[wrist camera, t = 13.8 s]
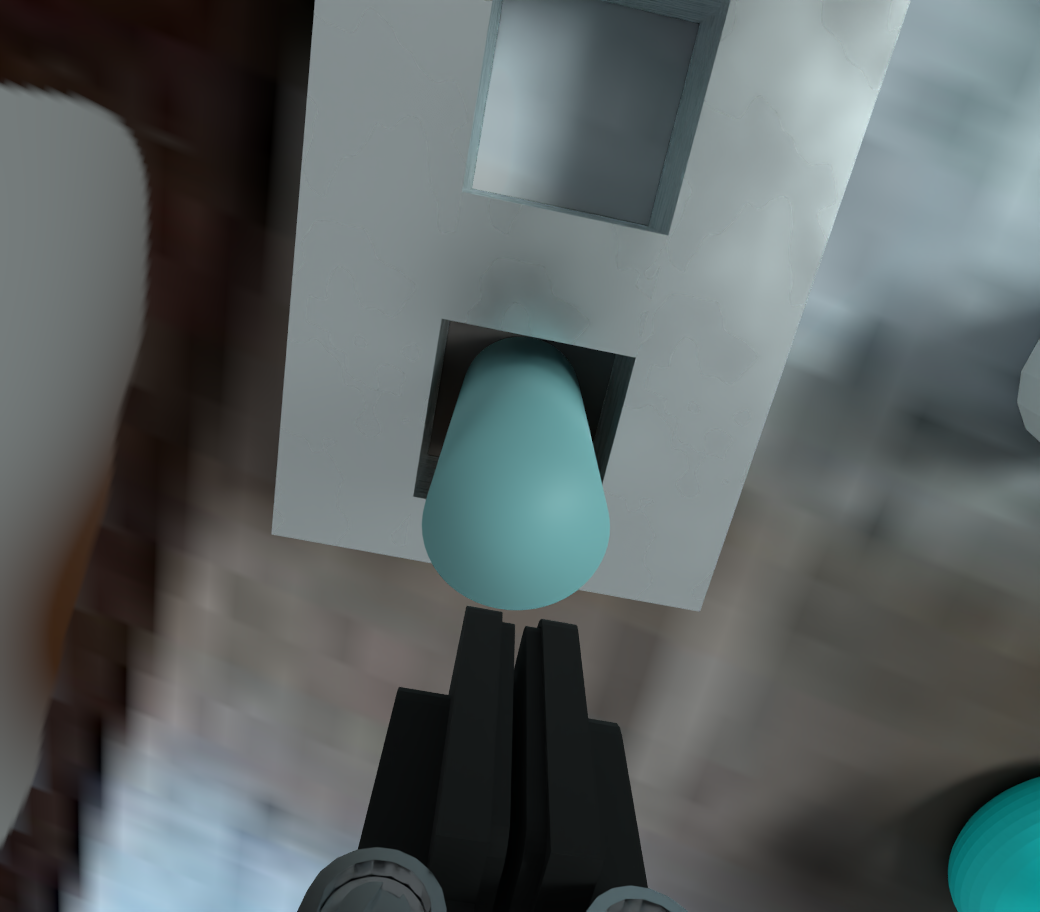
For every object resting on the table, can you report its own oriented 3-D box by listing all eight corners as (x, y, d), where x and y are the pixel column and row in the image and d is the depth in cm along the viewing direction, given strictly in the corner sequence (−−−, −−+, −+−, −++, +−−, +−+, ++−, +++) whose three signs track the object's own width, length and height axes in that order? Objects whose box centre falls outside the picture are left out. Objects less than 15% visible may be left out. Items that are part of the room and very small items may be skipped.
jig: (366, -154, 19) (333, -219, 16) (869, -33, 20) (935, -72, 17) (303, 488, 26) (271, 534, 23) (679, 558, 27) (699, 611, 24)
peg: (473, 326, 24) (437, 425, 15) (591, 349, 24) (630, 461, 15) (453, 437, 25) (409, 593, 16) (565, 458, 26) (585, 624, 16)
